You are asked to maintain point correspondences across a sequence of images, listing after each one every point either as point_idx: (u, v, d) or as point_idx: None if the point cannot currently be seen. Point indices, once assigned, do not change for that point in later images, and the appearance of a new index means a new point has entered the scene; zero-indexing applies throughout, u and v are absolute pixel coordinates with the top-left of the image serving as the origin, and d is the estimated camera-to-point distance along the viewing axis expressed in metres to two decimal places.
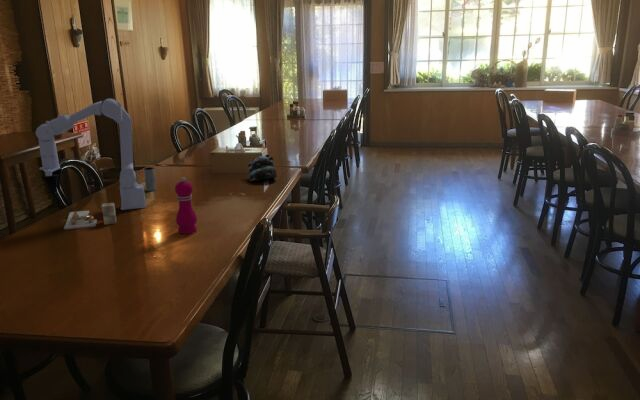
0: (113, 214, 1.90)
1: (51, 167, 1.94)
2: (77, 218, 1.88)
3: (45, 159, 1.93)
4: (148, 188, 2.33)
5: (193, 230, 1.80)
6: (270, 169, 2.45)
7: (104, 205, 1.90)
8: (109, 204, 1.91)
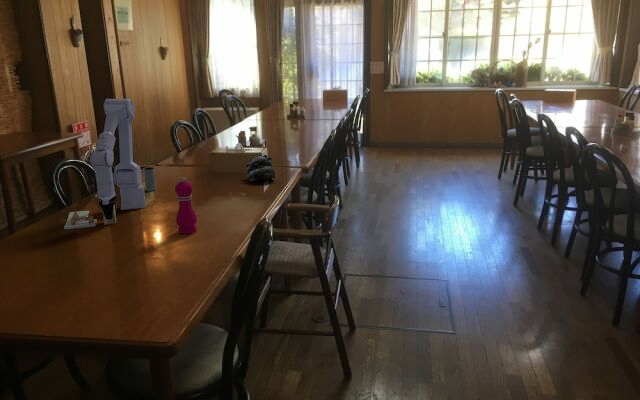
0: (113, 214, 1.90)
1: (107, 194, 1.87)
2: (77, 218, 1.88)
3: (101, 186, 1.86)
4: (148, 188, 2.33)
5: (193, 230, 1.80)
6: (269, 169, 2.44)
7: None
8: None
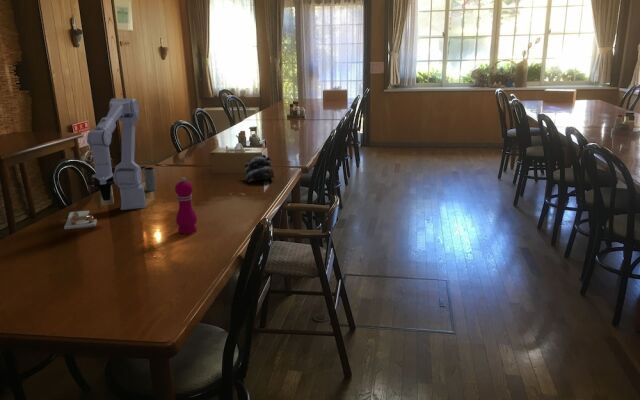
0: (110, 195, 1.88)
1: (105, 175, 1.85)
2: (77, 218, 1.88)
3: (99, 166, 1.83)
4: (148, 188, 2.33)
5: (193, 230, 1.80)
6: (268, 169, 2.44)
7: None
8: None
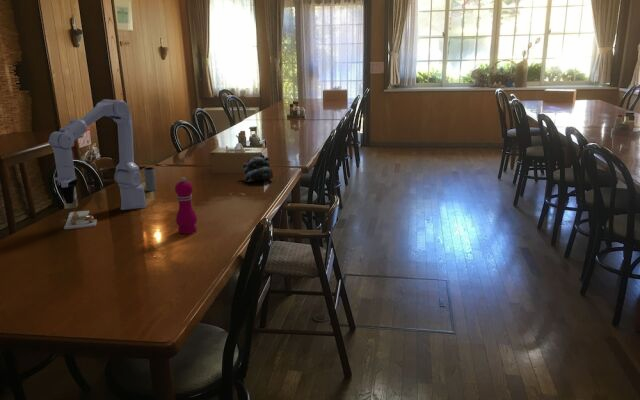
0: (74, 198, 1.84)
1: (67, 177, 1.81)
2: (77, 218, 1.88)
3: (61, 169, 1.80)
4: (148, 188, 2.33)
5: (193, 230, 1.80)
6: (267, 170, 2.44)
7: None
8: None
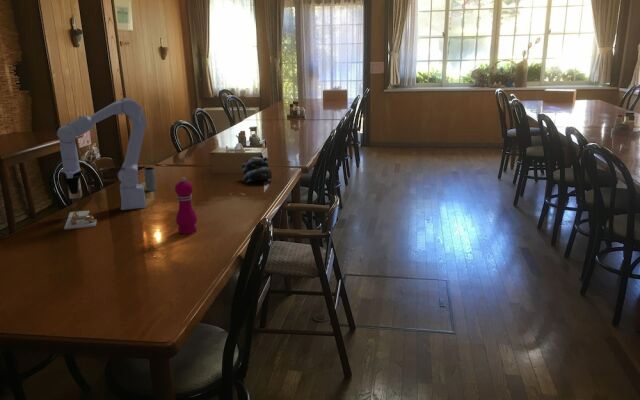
0: (78, 188, 1.97)
1: (72, 169, 1.93)
2: (77, 218, 1.88)
3: (66, 161, 1.92)
4: (148, 188, 2.33)
5: (193, 230, 1.80)
6: (266, 170, 2.43)
7: None
8: None
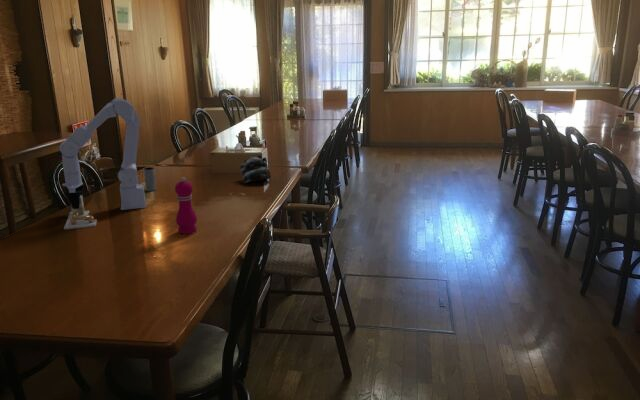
0: (81, 206, 1.99)
1: (74, 183, 1.95)
2: (77, 218, 1.88)
3: (68, 176, 1.94)
4: (148, 188, 2.33)
5: (193, 230, 1.80)
6: (264, 170, 2.43)
7: None
8: None
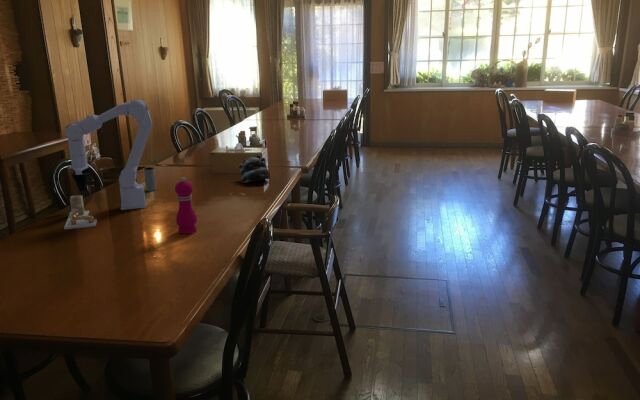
0: (81, 206, 1.99)
1: (80, 166, 1.99)
2: (77, 218, 1.88)
3: (75, 158, 1.97)
4: (148, 188, 2.33)
5: (193, 230, 1.80)
6: (264, 170, 2.42)
7: (72, 197, 1.98)
8: (77, 196, 1.99)
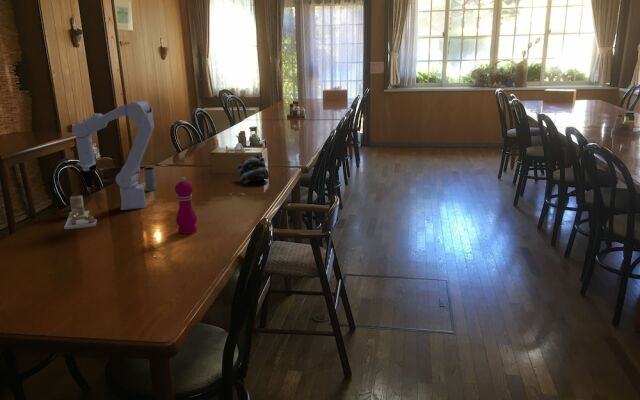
0: (81, 206, 1.99)
1: (88, 162, 2.04)
2: (77, 218, 1.88)
3: (82, 155, 2.03)
4: (148, 188, 2.33)
5: (193, 230, 1.80)
6: (263, 170, 2.42)
7: (72, 197, 1.98)
8: (77, 196, 1.99)
